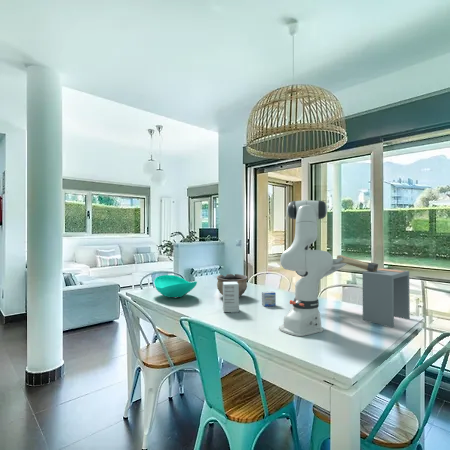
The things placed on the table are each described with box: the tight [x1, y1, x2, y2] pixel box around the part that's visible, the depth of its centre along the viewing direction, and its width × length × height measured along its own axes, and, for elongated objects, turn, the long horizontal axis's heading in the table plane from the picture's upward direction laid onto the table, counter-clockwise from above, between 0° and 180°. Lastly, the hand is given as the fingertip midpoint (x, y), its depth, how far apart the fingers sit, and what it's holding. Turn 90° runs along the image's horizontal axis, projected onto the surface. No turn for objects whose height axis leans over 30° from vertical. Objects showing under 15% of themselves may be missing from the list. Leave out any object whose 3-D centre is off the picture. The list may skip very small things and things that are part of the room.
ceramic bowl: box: [216, 273, 248, 297], centre depth 217 cm, size 22×22×15 cm
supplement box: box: [222, 282, 240, 313], centre depth 182 cm, size 10×9×17 cm
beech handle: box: [336, 254, 379, 272], centre depth 171 cm, size 5×22×4 cm, turn 39°
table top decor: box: [153, 274, 198, 298], centre depth 218 cm, size 40×28×13 cm
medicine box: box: [261, 291, 277, 308], centre depth 193 cm, size 8×4×9 cm, turn 105°
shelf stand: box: [362, 267, 411, 328], centre depth 163 cm, size 22×15×26 cm
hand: (345, 258), depth 177 cm, fingers closed on beech handle, 4 cm apart
